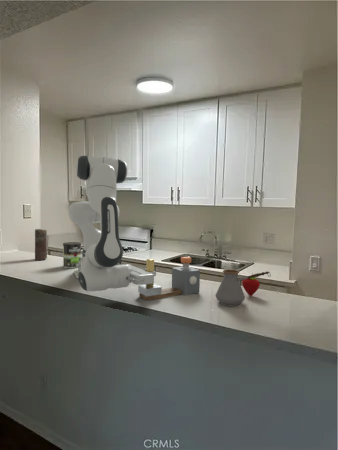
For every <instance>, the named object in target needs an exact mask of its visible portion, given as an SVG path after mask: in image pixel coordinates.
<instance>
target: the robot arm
mask: <svg viewBox="0 0 338 450" xmlns="http://www.w3.org/2000/svg"><path fill="white" fill-rule="evenodd" d="M74 169H75V174H76V177H77V178H78V179H80V180H82V181H85V182H86V185H85V195H86V197H87V198H88V199H87V200H88V201H82V200H81V201H77V202H75V201H74V202H72V203H71V204H70V206H69V207H68V210H67V211H68V217H69V218H70V220H71V221H72V222H74V223H75V224H76V225H77V227H79V229H80V231H81V233H82V240H83V241H82V242H83V249H82V251H81V259H80V261H79V262H78V264H76V268H75V270H73V274H74V275H75V278H76V279H78V282H79V285H80V287H81V288H82V290H84V291H86V292H101V291H107V290H109V289H113V290H114V289H115V290H116V289H122V288H127V287H129V285H130V284H131V283H132V284H134V285H137V286H138V285H143V284H152V283H153V282H154V283H155V277H156V276H157V272H156V271H155V270H154V271H151V272H147V271H146V268H140V267H137V266H134V265H131V264H123V263H122V264H119V263H121V260H122V259H123V257H124V256H123V255H124V250H123V245H122V243H121V240H120V233H119V217H120V208H119V206H118V205H117V191H118V189H117V188H118V186H117V184H123V183H124V182H125V181H126V178H127V176H128V173H129V172H128V166H127V163H126V162H125V161H124V160H122V159H119V158H118V159H116V158H112V157H107V156H97V155H96V156H91V155H90V156H89V155H80V156H79V157H78V158H77V160H76V163H75V165H74ZM98 223H99V224H100V229H98V228H96V227H95V226H94V224H98Z"/></svg>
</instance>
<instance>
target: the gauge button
mask: <svg viewBox="0 0 338 450" xmlns="http://www.w3.org/2000/svg"><path fill="white" fill-rule="evenodd" d="M180 263H182V266H183V270H189V267H190V263H191V264H192V257H190V256H181V257H180Z"/></svg>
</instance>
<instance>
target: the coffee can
mask: <svg viewBox="0 0 338 450" xmlns="http://www.w3.org/2000/svg"><path fill="white" fill-rule="evenodd" d="M81 258H82V243H81V242H77V241H76V242H74V241H73V242H72V241H71V242H70V241H69V242H66V241H65V242H63V243H62V267H63V268H64V269H77V268H76V264H78V262H79V261H80V259H81Z"/></svg>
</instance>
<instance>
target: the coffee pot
mask: <svg viewBox="0 0 338 450" xmlns="http://www.w3.org/2000/svg"><path fill="white" fill-rule="evenodd" d="M222 273H223V275H224V276H223V277H222V280H221V282H220V284H219V286H218V289H217V291H216V292H215V298H216V300H217V301H218V302H219V303H220V304H221V305H223V306H229V307H236V306H239V305H240V304H242V303H243V302H244V301H245V300H246V299H245V298H246V296H245V293H244V290H243V287H242V286H241V283H240V281H243V280H245V279H249V278H254V277H255V278H260V277H261V276H264V275H267V276H268V277H272V275H271V273H270V272H269V271H265V272H264V271H262V272H259V273H258V272H257V273H253V275H252V274H251V275H247V276H244V277H238V275H239V274H240V271H239V270H237V269H224V270H222Z"/></svg>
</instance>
